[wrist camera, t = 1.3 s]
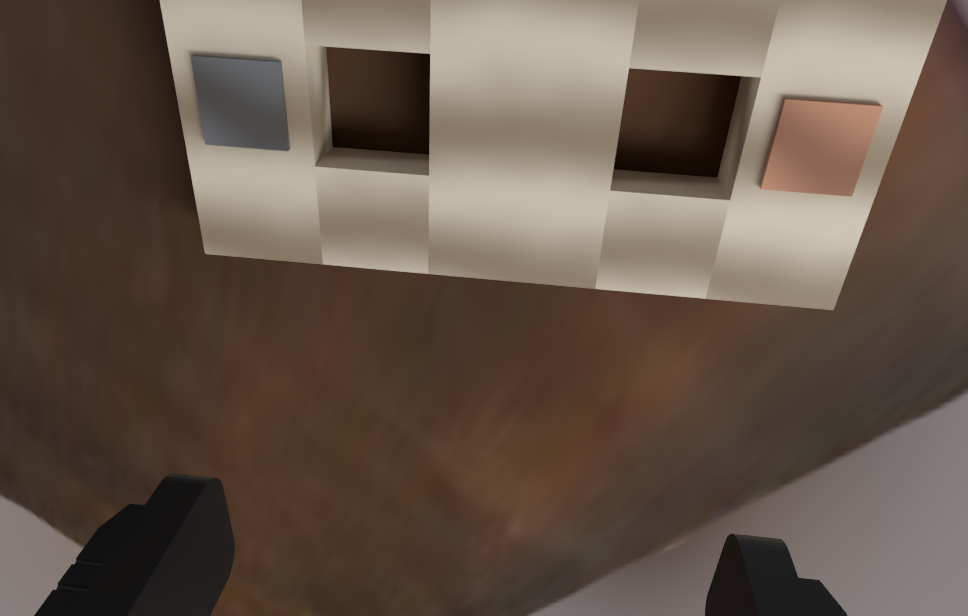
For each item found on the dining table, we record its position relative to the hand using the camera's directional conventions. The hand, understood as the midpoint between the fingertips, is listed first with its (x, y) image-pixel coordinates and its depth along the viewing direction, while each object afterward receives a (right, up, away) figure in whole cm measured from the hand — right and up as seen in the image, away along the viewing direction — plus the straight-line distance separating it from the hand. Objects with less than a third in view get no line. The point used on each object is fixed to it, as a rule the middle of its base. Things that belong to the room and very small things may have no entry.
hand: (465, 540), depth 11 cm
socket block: (+2, +13, +22) cm, 26 cm away
